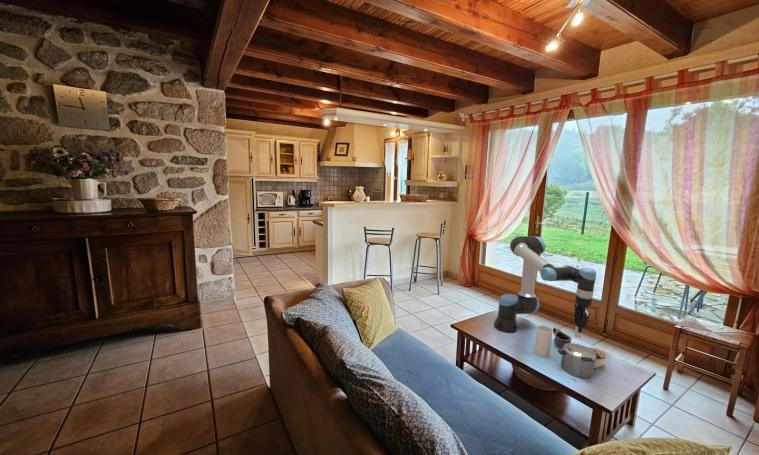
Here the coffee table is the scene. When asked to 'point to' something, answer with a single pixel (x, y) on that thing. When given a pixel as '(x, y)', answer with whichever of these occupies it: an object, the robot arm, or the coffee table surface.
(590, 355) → the lid
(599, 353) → the lidded jar
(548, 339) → the cup
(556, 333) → the mug
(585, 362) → the pot
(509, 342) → the coffee table surface
